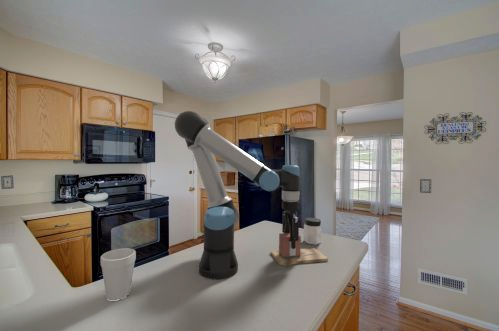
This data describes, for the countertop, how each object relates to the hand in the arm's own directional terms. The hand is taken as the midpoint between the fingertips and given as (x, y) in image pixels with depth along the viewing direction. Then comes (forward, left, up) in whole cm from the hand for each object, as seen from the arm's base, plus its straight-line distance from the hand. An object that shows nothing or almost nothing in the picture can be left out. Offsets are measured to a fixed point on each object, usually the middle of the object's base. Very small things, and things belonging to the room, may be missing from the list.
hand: (289, 252), depth 101 cm
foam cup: (-64, -16, -3) cm, 66 cm away
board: (+4, 0, -2) cm, 5 cm away
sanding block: (0, 0, -1) cm, 1 cm away
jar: (+20, +17, -3) cm, 27 cm away
